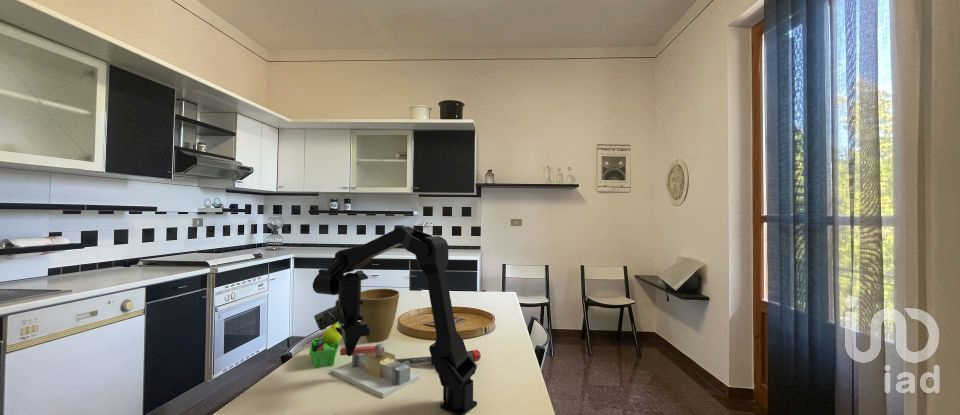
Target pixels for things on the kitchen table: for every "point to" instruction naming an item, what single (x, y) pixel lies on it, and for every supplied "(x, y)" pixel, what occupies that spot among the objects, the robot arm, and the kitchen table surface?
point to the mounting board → (370, 380)
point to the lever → (366, 350)
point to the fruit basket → (325, 347)
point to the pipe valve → (383, 367)
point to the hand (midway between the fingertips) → (349, 355)
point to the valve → (472, 354)
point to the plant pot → (379, 312)
